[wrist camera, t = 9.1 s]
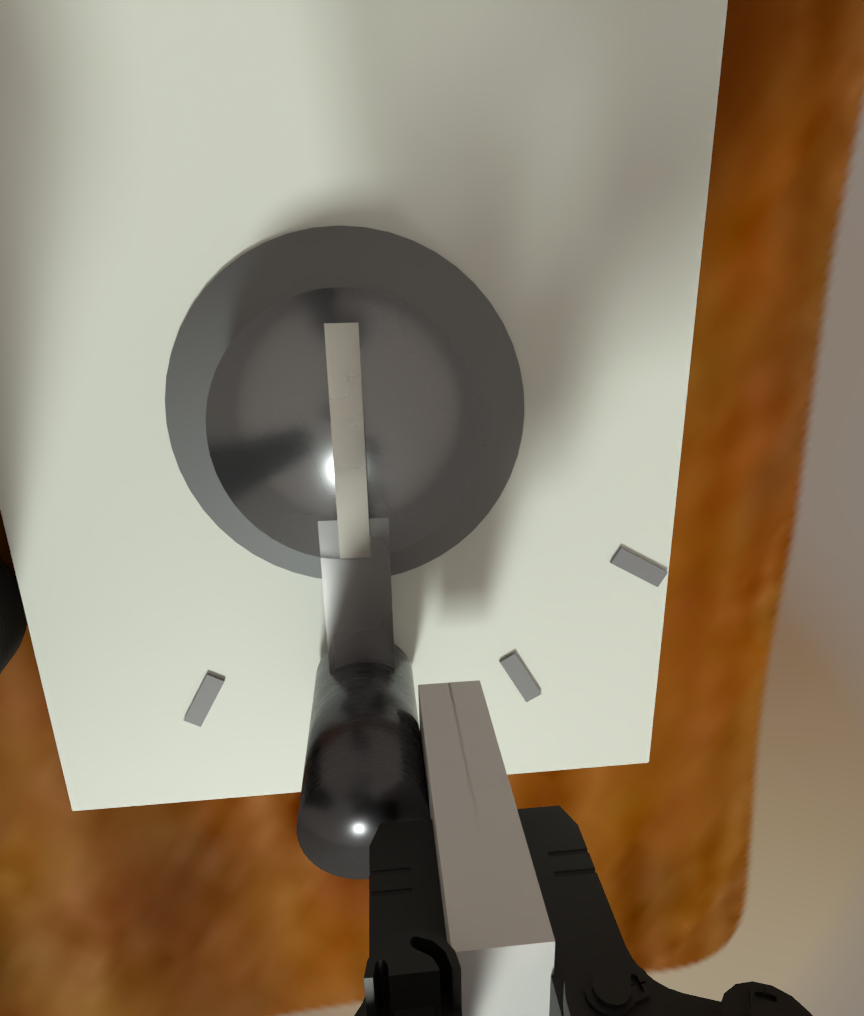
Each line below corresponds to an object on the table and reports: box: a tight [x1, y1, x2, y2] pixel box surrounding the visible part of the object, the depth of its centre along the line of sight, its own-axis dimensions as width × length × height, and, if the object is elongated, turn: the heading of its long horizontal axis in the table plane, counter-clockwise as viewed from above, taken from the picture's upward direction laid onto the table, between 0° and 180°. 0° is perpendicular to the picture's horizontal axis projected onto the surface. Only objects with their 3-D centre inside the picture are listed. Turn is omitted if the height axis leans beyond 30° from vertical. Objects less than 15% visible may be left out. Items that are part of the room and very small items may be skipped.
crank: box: [205, 287, 484, 879], centre depth 14 cm, size 11×6×6 cm, turn 1°
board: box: [0, 0, 728, 811], centre depth 16 cm, size 22×17×1 cm
